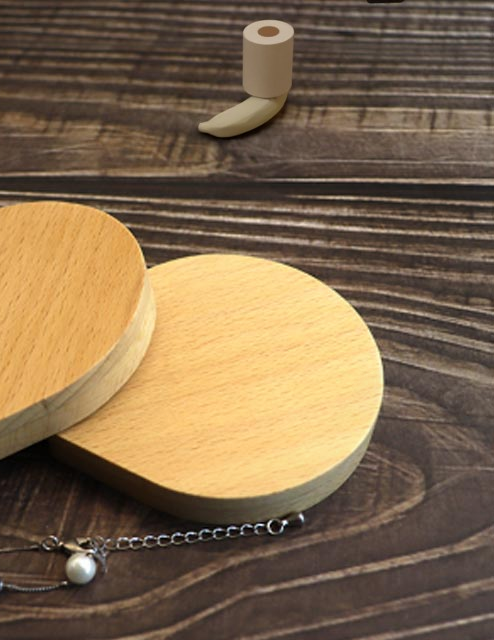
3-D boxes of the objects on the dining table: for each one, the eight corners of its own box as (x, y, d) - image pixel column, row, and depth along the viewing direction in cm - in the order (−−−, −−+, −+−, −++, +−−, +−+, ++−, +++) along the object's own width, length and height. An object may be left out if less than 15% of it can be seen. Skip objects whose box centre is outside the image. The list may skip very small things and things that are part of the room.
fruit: (310, 85, 123) (311, 60, 120) (251, 148, 114) (252, 122, 112) (256, 73, 126) (257, 48, 123) (196, 134, 117) (195, 108, 115)
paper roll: (268, 67, 120) (269, 14, 115) (301, 85, 117) (304, 31, 112) (232, 85, 118) (232, 31, 113) (265, 103, 115) (266, 48, 110)
